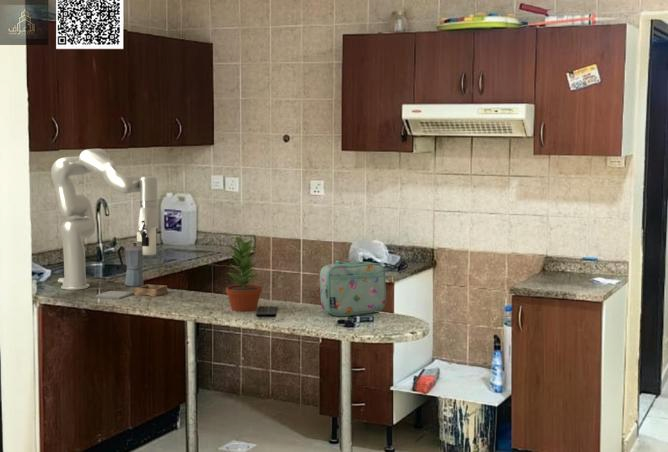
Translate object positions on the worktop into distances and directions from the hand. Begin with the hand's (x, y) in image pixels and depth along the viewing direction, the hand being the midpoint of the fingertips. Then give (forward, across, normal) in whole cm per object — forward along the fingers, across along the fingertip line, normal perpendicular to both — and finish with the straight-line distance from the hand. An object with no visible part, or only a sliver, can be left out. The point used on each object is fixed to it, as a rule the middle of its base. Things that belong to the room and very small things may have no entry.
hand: (149, 244), depth 438 cm
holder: (+22, 0, +1) cm, 22 cm away
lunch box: (+21, +14, +99) cm, 102 cm away
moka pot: (+22, -17, -18) cm, 33 cm away
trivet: (+22, +9, -12) cm, 27 cm away
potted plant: (+21, +19, +55) cm, 62 cm away
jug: (+4, 0, -1) cm, 4 cm away
